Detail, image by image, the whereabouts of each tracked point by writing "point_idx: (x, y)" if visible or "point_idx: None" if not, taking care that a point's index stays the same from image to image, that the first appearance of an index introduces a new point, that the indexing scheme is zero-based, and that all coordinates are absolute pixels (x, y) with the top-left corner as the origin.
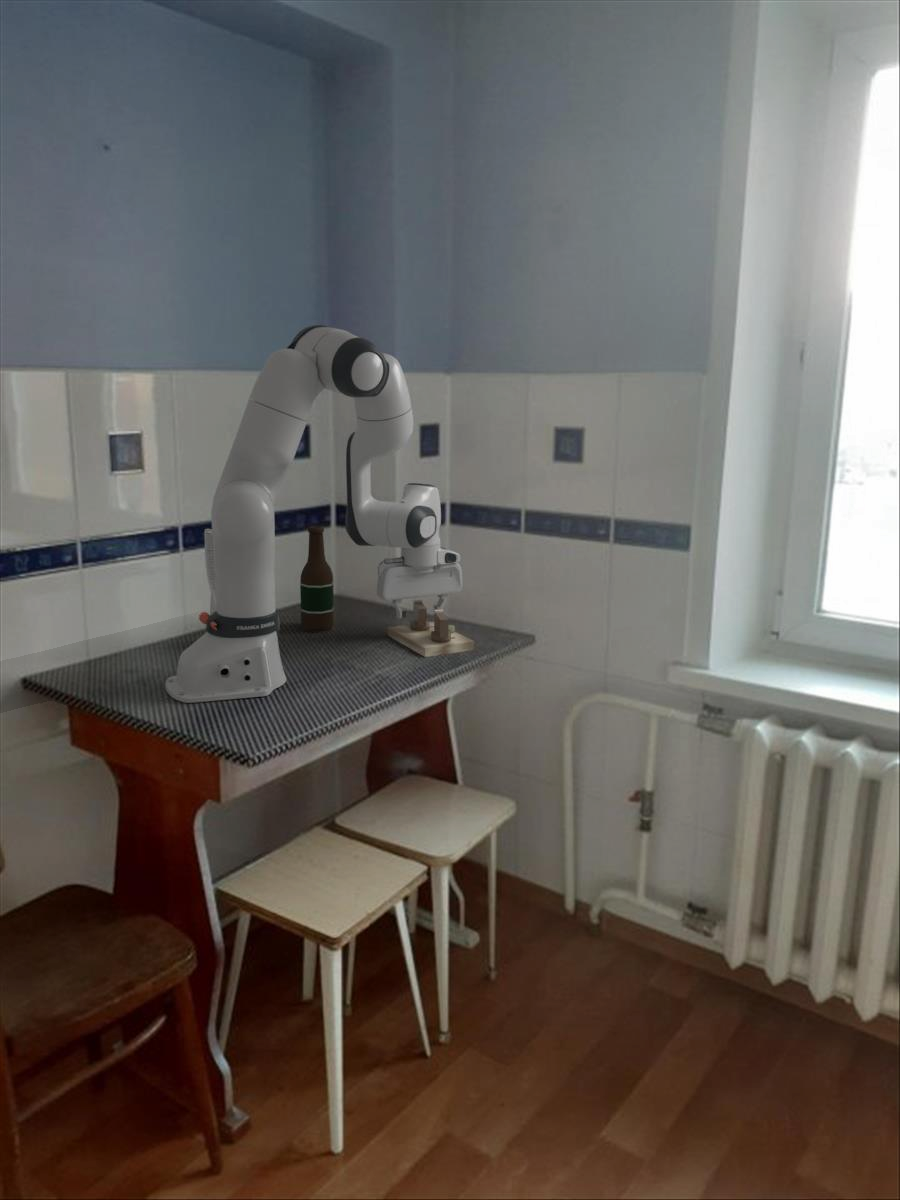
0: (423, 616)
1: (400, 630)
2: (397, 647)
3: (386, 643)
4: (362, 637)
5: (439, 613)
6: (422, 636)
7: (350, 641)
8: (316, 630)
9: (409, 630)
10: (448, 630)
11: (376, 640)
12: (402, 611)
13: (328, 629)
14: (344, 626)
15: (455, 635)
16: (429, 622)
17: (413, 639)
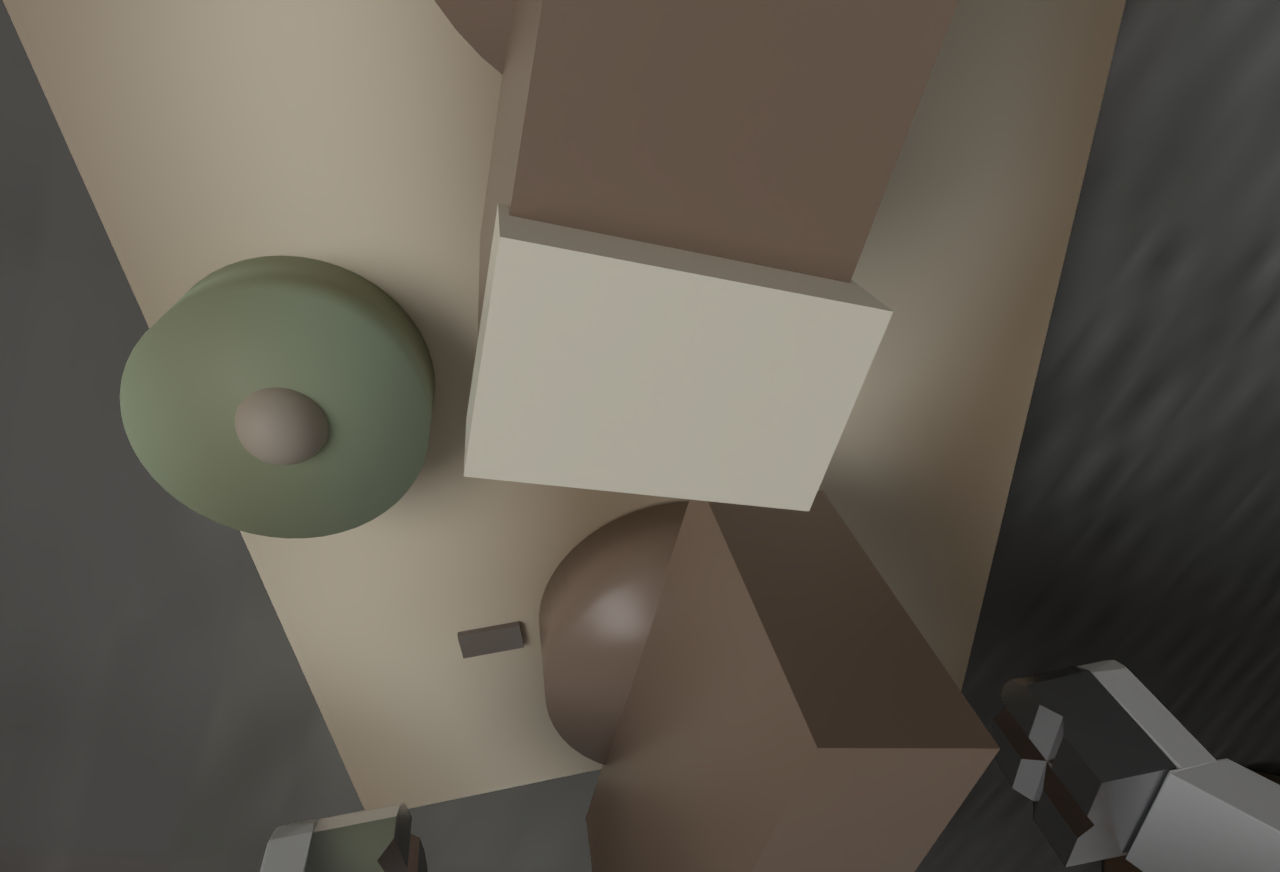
0: (812, 603)
1: (923, 576)
2: (1090, 225)
3: (1081, 410)
4: (1120, 623)
5: (734, 141)
6: None
7: (1276, 545)
8: (1278, 780)
9: None
10: (310, 279)
11: (1089, 523)
12: (1164, 759)
13: None
14: (1035, 850)
15: (196, 83)
16: (445, 787)
17: (1048, 118)
